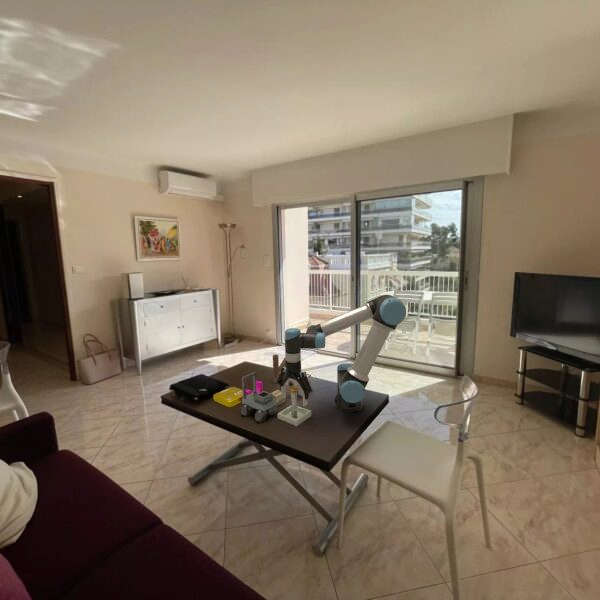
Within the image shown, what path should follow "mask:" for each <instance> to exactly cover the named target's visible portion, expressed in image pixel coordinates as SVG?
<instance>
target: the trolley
mask: <svg viewBox="0 0 600 600" xmlns="http://www.w3.org/2000/svg"><path fill="white" fill-rule="evenodd" d="M250 378H252V386H253V387H252V388H253V389H252V391H253V393H251V394H249V395H247V396H246V390H247V388H246V387H247V386H246V380H248V379H250ZM256 381H257V373H256V371H254V372H251V373H249V374H247V375H244V376H242V377H241V388H242V389H241V390H242V393H243V398H242V402H241V404H242V406H241V407H240V414H241V416H244V417H247V416H249V415H251V414H252V413H253V410H256V411H255V413H254V420H255V421H256V422H258V423H262V422H265V420H267V419H266V418H267V416H268V415H269V416H274V415H276V414H277V412H278V406H277V404H276V399H275V398H273V394H272V393H273V392H268V391H266V390H263V391H262V392H260V393H257V388H256Z"/></svg>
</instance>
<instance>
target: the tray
mask: <svg viewBox="0 0 600 600" xmlns="http://www.w3.org/2000/svg"><path fill="white" fill-rule="evenodd" d="M297 409H298V417H297V418H292V417H291V405H288V406H287V407H286V408H284V409H283V410H281V411H280V412H278V413H276V414H277V420H280V421H282V422H284V423H287V424H289V425H291V426H292V425H293V426H295V427H298V426H300V425H301V424H303V423H304V422H305V421H307V420H308V419H309V418H311V417H312V410H310V409H307V408H304V407H303V406H302V407H301V406H299V405H297Z"/></svg>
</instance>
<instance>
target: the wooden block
mask: <svg viewBox="0 0 600 600" xmlns="http://www.w3.org/2000/svg"><path fill="white" fill-rule="evenodd" d="M283 367H286V360H285V357H284V358H283V360H282V361H281V363H279V354H273V355H272V372H273V373H272V376H271V377H272V378H271V379H272V381H271V382H272V383H273V384H277V380H278V378H279V376H280V372H281V368H283ZM284 378H285V375H284V377H283V379H284Z"/></svg>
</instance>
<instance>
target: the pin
mask: <svg viewBox="0 0 600 600" xmlns="http://www.w3.org/2000/svg"><path fill="white" fill-rule="evenodd" d="M288 391H289V392H290V406H291V417H292V418H297V417H298V409H297V406H298V386H289V387H288Z"/></svg>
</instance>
